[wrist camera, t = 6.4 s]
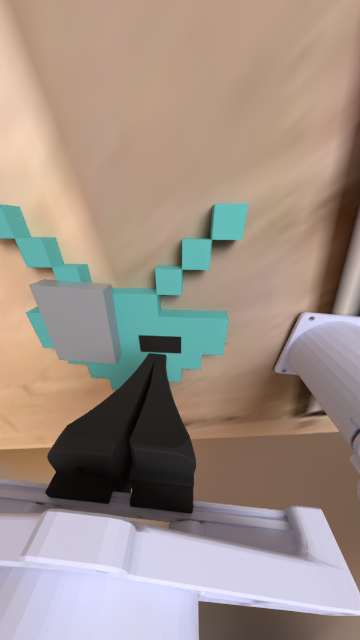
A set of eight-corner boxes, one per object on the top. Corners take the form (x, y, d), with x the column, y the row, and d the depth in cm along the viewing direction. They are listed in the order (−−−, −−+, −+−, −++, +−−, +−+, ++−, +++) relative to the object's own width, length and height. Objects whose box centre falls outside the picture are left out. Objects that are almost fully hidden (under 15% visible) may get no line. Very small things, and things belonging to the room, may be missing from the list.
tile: (102, 290, 13) (29, 285, 13) (116, 364, 17) (59, 359, 17) (111, 284, 15) (44, 279, 15) (121, 354, 19) (69, 349, 19)
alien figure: (1, 207, 14) (74, 374, 24) (-29, 204, 12) (63, 387, 22) (240, 206, 13) (213, 381, 23) (248, 203, 11) (216, 395, 21)
